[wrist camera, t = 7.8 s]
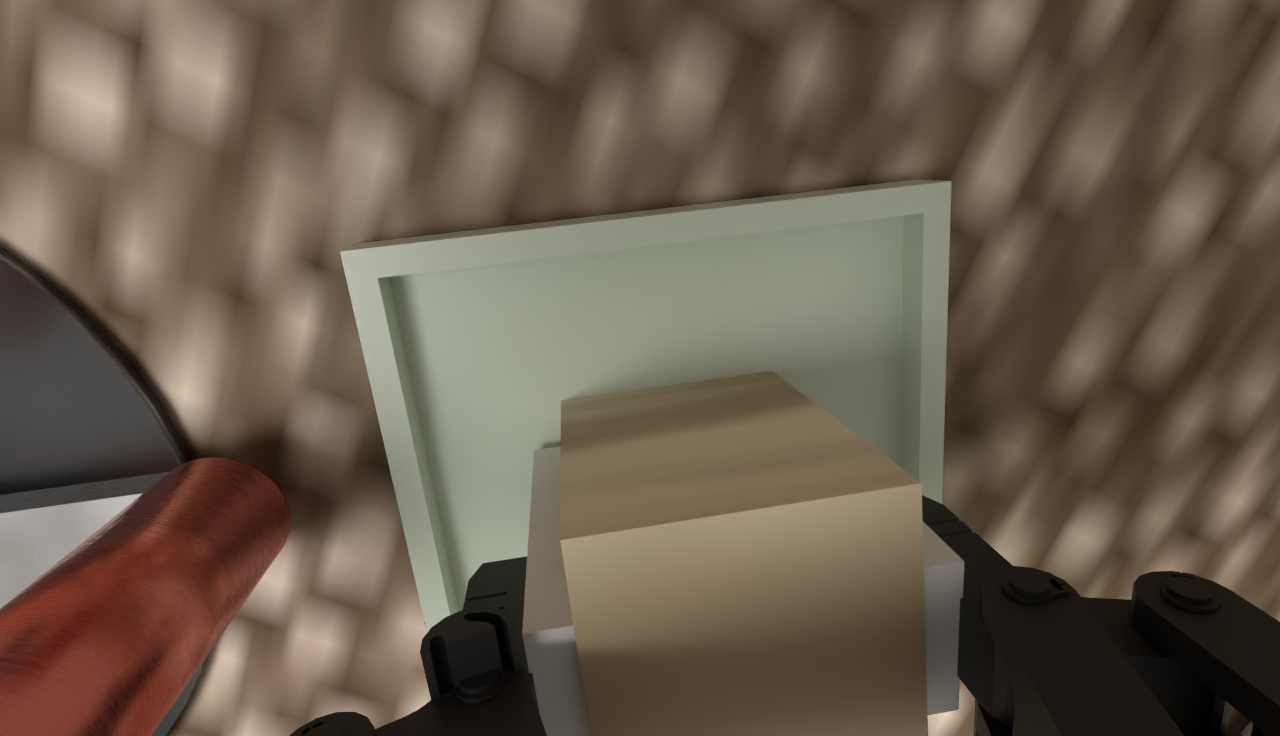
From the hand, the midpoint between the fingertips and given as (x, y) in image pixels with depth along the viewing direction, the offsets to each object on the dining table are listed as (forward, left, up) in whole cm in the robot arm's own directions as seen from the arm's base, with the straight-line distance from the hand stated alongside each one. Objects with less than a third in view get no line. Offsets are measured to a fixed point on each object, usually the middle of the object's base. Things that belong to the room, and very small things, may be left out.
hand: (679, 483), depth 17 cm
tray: (0, 0, -1) cm, 1 cm away
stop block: (0, 0, 0) cm, 0 cm away
